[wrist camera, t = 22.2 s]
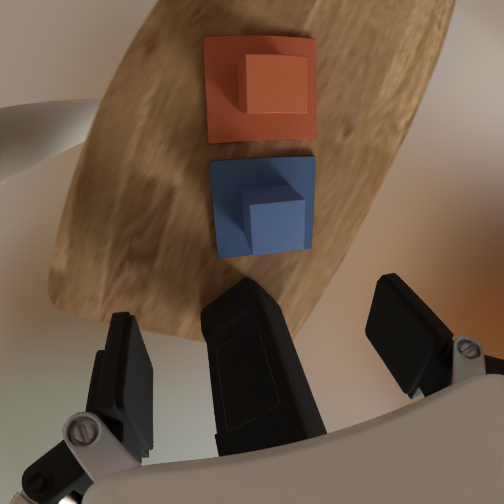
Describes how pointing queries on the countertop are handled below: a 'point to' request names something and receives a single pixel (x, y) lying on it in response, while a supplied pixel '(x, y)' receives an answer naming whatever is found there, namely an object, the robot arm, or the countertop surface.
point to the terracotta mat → (226, 90)
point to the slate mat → (255, 175)
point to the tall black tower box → (256, 374)
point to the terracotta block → (272, 83)
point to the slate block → (273, 218)
